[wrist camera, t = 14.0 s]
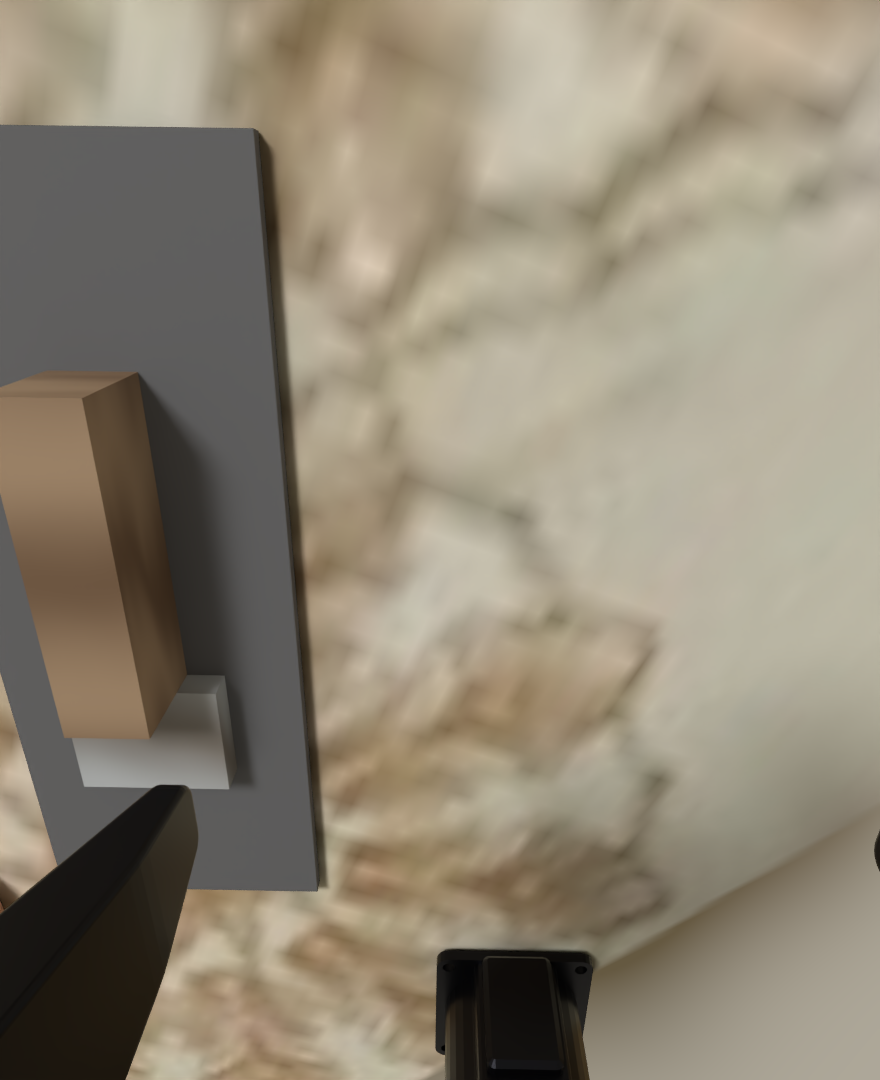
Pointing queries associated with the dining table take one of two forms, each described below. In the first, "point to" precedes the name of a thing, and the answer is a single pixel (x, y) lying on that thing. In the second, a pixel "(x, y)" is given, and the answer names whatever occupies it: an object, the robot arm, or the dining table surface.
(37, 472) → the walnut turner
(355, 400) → the dining table surface
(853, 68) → the dining table surface
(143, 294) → the mat
